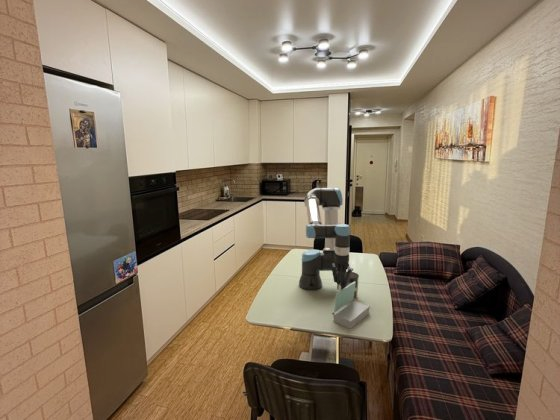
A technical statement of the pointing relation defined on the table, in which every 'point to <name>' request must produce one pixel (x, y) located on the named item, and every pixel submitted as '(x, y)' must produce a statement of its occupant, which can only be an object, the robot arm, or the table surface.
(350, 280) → the coffee can
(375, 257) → the table surface
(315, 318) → the table surface
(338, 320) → the white lidded box
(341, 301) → the cover
